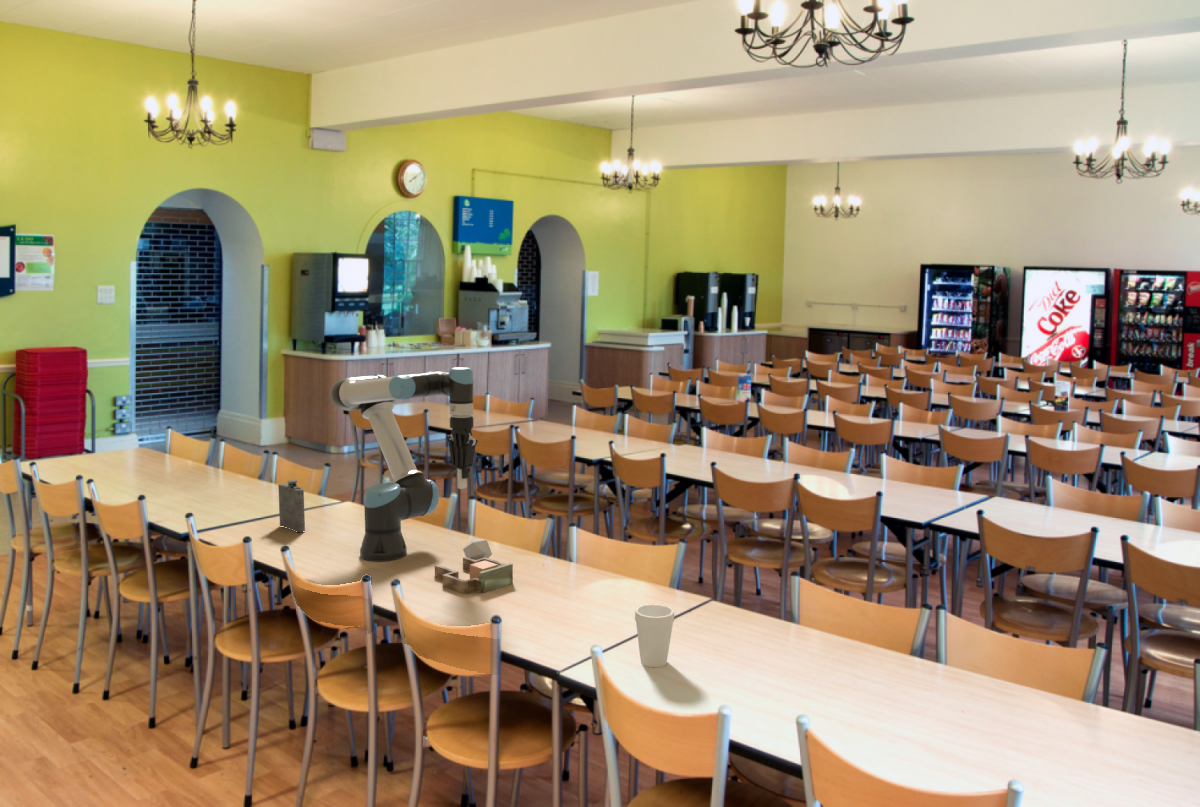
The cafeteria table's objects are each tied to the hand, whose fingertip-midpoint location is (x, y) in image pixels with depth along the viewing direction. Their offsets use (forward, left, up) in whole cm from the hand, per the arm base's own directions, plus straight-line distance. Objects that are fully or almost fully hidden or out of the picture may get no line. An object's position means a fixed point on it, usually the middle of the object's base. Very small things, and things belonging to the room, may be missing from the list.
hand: (462, 487), depth 306 cm
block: (+22, -10, -25) cm, 34 cm away
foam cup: (+96, -20, -25) cm, 101 cm away
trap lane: (+17, -10, -24) cm, 31 cm away
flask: (-74, -18, -25) cm, 80 cm away
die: (+5, +2, -25) cm, 25 cm away
